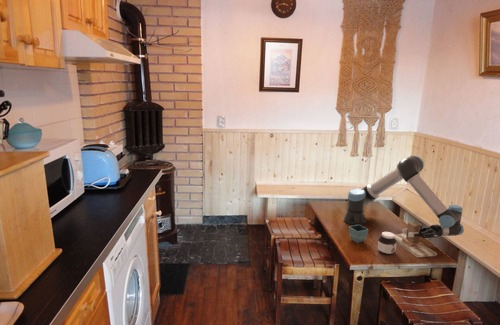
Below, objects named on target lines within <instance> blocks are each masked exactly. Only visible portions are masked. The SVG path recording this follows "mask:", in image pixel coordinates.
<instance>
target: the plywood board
mask: <svg viewBox="0 0 500 325" xmlns="http://www.w3.org/2000/svg"><path fill="white" fill-rule="evenodd" d="M393 234H394V238H395V239H396V242H397V245H398V246H400V247H402V248H403V249H405V250H406V251H408V252H409V253H410V254H411V255H413V256H415V257H416V258H425V257H427V258H428V257H437V256H438V253H437V252H436V251H434V250H433V249H431V248H430V247H428V246H427V245H425V244H424V243H422V246H410V247H409V246H408V245H406V244H405V243H403V242H402V239H404V238H406V236H407V233H397V234H396V233H393Z"/></svg>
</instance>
